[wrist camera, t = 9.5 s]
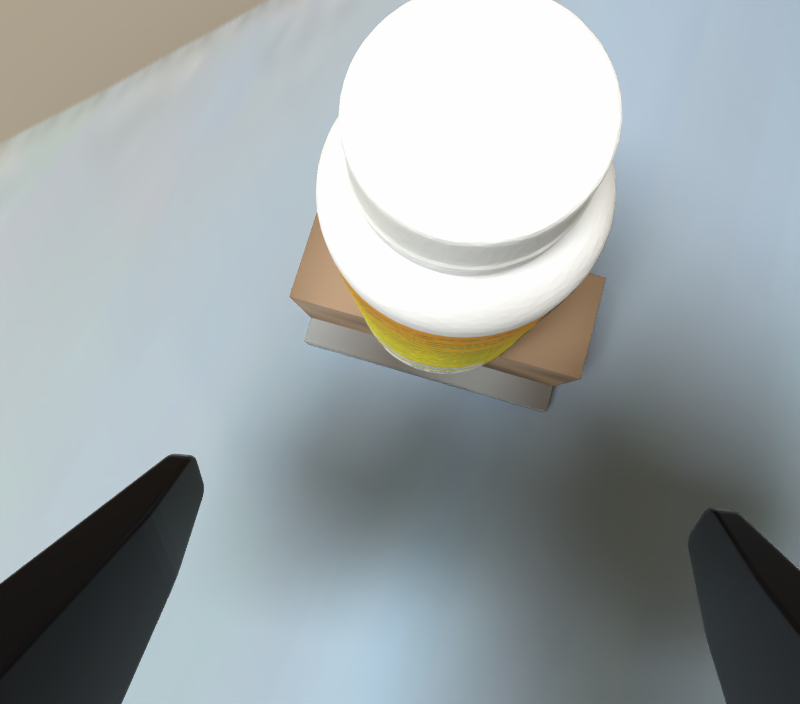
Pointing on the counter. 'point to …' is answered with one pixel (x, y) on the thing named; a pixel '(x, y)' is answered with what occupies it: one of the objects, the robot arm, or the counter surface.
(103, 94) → the counter surface
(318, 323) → the block
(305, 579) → the counter surface
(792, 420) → the counter surface
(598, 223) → the supplement bottle
